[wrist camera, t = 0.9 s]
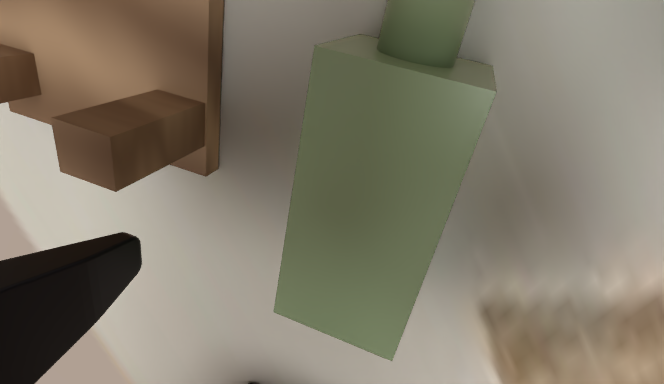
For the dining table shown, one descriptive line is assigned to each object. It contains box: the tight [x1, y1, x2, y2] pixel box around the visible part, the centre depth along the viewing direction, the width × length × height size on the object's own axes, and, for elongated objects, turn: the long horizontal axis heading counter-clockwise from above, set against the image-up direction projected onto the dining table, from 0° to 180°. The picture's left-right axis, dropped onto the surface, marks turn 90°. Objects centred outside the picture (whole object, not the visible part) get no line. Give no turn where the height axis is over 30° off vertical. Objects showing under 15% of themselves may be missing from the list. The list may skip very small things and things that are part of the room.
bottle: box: [274, 0, 497, 361], centre depth 13 cm, size 15×5×5 cm, turn 169°
